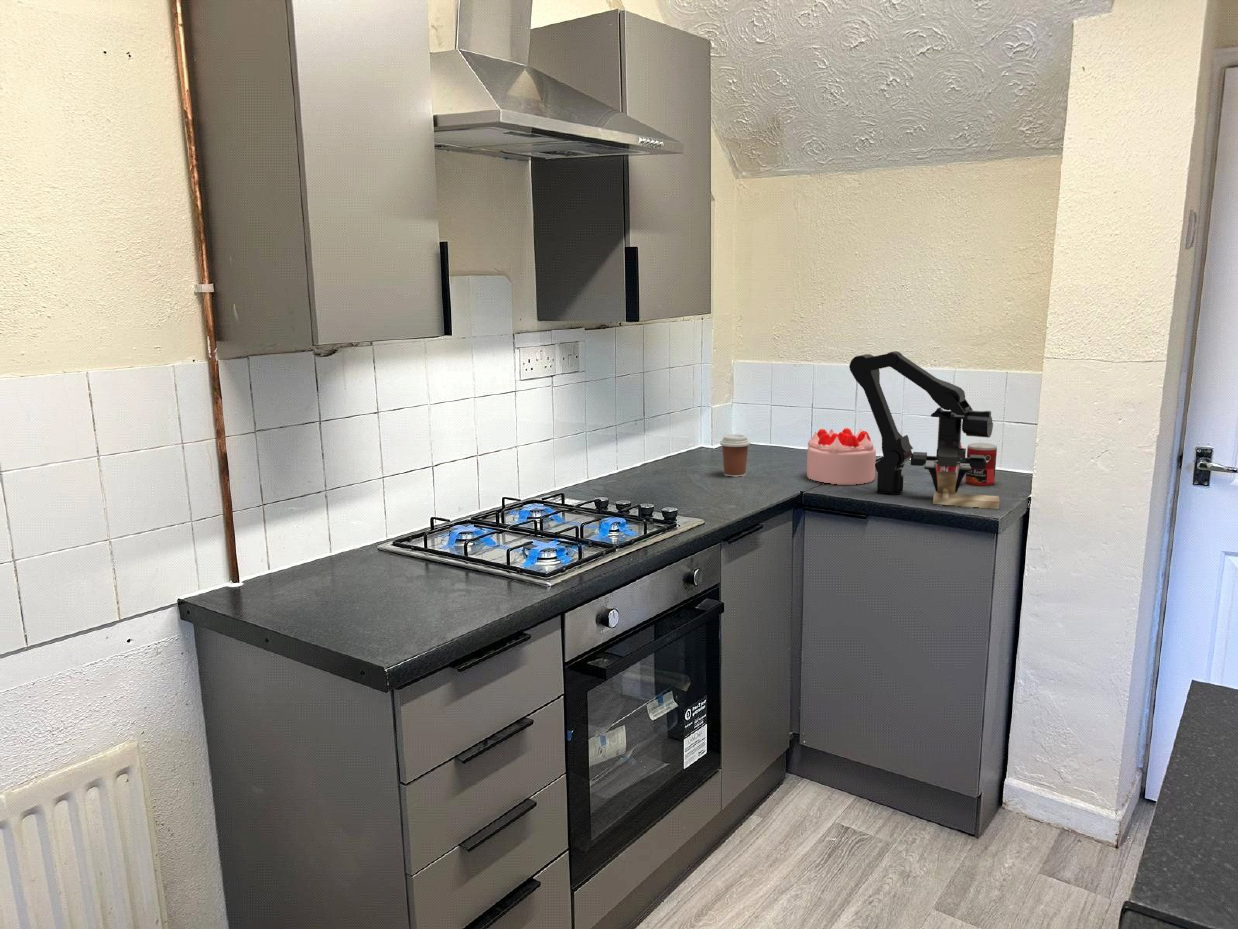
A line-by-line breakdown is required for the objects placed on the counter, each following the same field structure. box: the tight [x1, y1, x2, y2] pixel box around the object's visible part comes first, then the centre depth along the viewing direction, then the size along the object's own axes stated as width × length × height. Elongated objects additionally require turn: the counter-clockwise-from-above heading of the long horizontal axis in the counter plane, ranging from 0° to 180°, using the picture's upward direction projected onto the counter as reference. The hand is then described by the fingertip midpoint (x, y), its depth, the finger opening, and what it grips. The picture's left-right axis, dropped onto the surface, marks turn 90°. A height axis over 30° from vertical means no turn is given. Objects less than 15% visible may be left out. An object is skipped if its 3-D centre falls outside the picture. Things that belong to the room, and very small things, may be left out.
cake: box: [806, 427, 877, 486], centre depth 275 cm, size 20×20×14 cm
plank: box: [932, 491, 1000, 510], centre depth 243 cm, size 16×6×2 cm, turn 70°
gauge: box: [936, 471, 956, 499], centre depth 245 cm, size 4×11×7 cm, turn 160°
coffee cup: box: [719, 434, 751, 477], centre depth 282 cm, size 9×9×12 cm
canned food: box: [965, 442, 998, 487], centre depth 266 cm, size 8×8×11 cm
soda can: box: [936, 442, 964, 483], centre depth 265 cm, size 7×7×12 cm
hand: (946, 491), depth 249 cm, fingers closed on gauge, 4 cm apart
